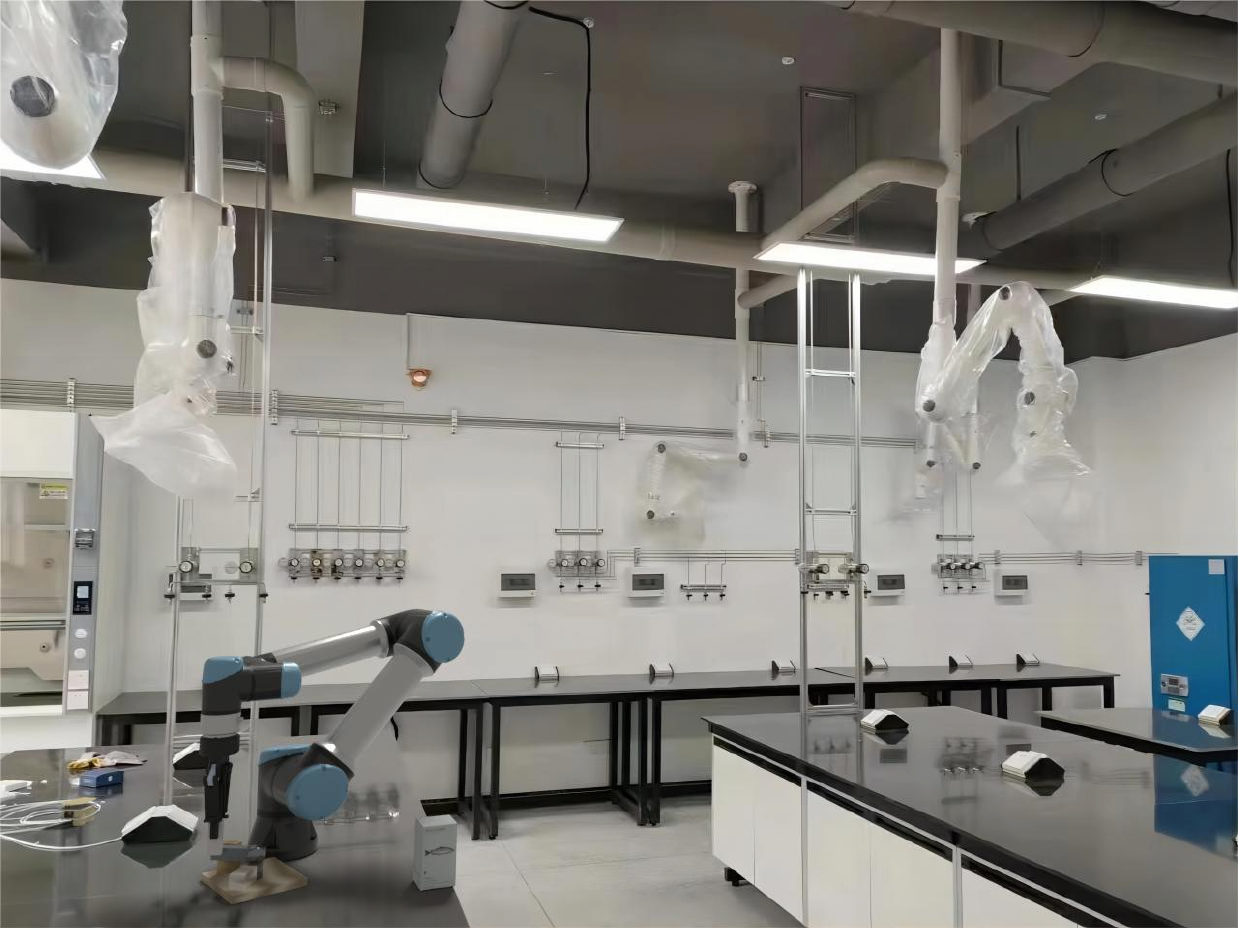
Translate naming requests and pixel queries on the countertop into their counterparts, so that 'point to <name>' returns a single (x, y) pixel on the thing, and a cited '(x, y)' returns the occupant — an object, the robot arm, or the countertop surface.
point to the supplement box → (435, 852)
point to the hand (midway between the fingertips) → (214, 853)
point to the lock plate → (262, 886)
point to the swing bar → (241, 853)
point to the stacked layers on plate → (78, 811)
